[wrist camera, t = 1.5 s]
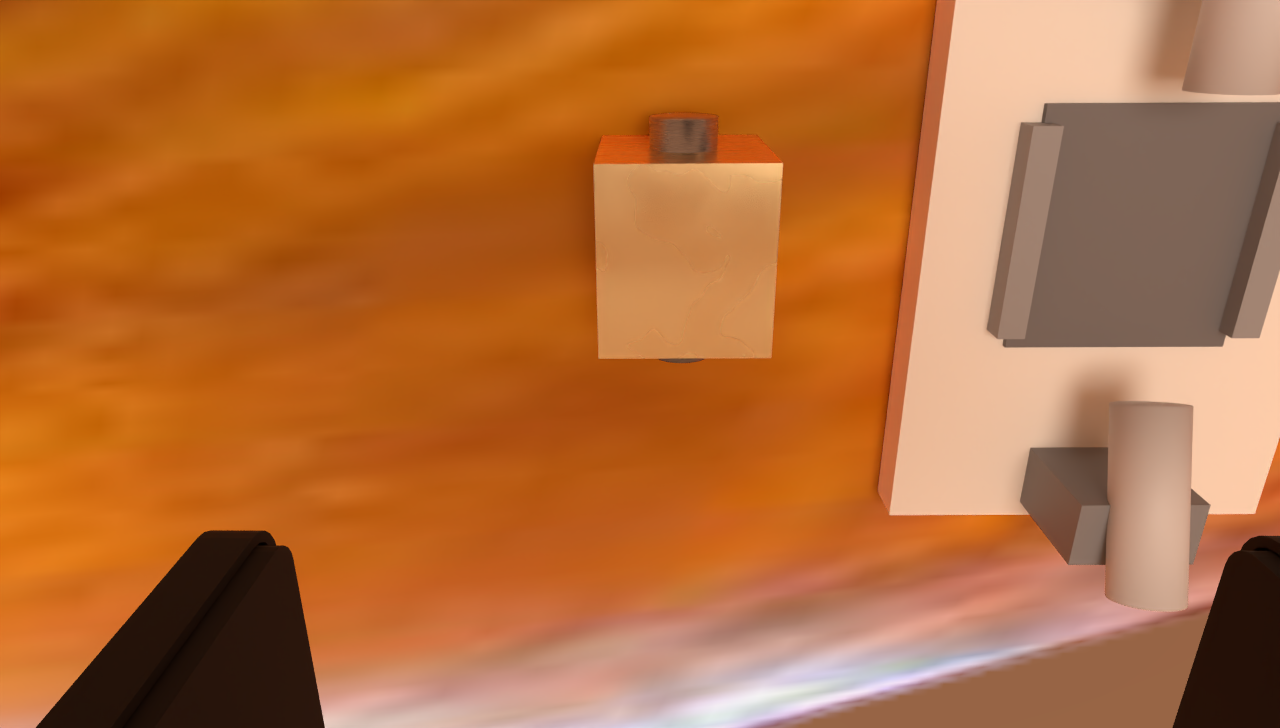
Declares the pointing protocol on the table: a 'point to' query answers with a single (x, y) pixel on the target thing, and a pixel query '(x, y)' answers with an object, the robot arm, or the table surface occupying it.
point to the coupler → (686, 242)
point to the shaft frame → (1093, 279)
